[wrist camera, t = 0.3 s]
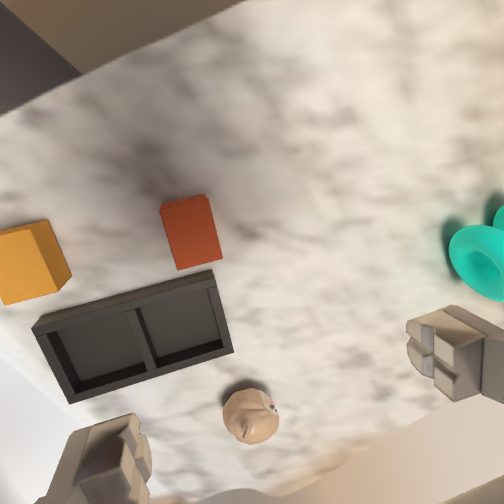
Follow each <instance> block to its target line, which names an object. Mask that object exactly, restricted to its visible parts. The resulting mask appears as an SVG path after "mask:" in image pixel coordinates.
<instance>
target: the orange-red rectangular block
mask: <svg viewBox="0 0 504 504" xmlns="http://www.w3.org/2000/svg"><path fill="white" fill-rule="evenodd" d="M160 214H161V218H162V221H163V224H164V228H165V231H166V234H167V237H168V241H169V244H170V247H171V251H172V254H173V257H174V260H175V264H176V267H177V270H182V269H186V268H189V267H193V266H197V265H200V264H204V263H208V262H212V261H215V260H219V259H222V258H223V256H222V252H221V248H220V244H219V240H218V236H217V232H216V228H215V224H214V220H213V216H212V212H211V208H210V204H209V200H208V198H207V197H206V196H205V194H203V195H198V196H194V197H190V198H186V199H181V200H177V201H173V202H168V203H164V204H162V205H161V207H160Z"/></svg>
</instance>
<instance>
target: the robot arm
mask: <svg viewBox="0 0 504 504" xmlns="http://www.w3.org/2000/svg"><path fill="white" fill-rule="evenodd" d="M406 333H407V334H408V335H409V336H410V337H411V338H410V340H409V341H408V343H407V353H408V356H409V358H410V361H411V363H412V364H413V366H414V367H415V368H416V370H418V371H419V372H420V373H421V374H422V375H424V376H427V377H430V378H433V380H434V385H435V387H437V388H438V389H439V390H440V391H441V392H442V393H443V394H445V395H446V396H447V397H448V398H449V399H450V400H451V401H453V402H457V401H460V400H462V399H465V398H468V397H471V396H474V395H476V394H479V393H481V394H482V395H484V396H486V397H488V398H491V399H493V400H496V401H498V402H500V403H503V404H504V330H503V329H501V328H499V327H497V326H495V325H494V324H492V323H490V322H488V321H486V320H484V319H482V318H480V317H478V316H476V315H474V314H472V313H471V312H469V311H467V310H465V309H463V308H461V307H459V306H456V305H450V306H447V307H444V308H441V309H439V310H437V311H434V312H431V313H428V314H425V315H422V316H420V317H417V318H414V319H411V320H408V322H407V324H406ZM139 429H140V422H139V420H138V418H137V415H136V414H135V413H130V414H127V415H123V416H120V417H117V418H114V419H110V420H107V421H104V422H101V423H98V424H94V425H93V426H89V427H86V428H83V429H80V430H76V431H74V432H73V433H72V434H71V435H70V436H69V438H68V441H67V443H66V446H65V449H64V451H63V453H62V456H61V459H60V461H59V464H58V466H57V469H56V471H55V474H54V476H53V479H52V482H51V484H50V487H49V489H48V492H47V494H46V496H44V497H41V498H39V499H38V500H37V501H36V502H35V503H34V504H149V495H150V493H149V490H148V488H147V486H146V483H147V481H148V479H149V478H150V476H151V469H152V461H151V451H150V447H149V443H148V440H147V438H146V436H145V435H143V434H141V433H139ZM440 504H504V475H503V476H501V477H498V478H496V479H494V480H492V481H489V482H487V483H485V484H483V485H480V486H478V487H476V488H474V489H471V490H469V491H467V492H465V493H463V494H460V495H458V496H456V497H453V498H451V499H449V500H447V501H445V502H442V503H440Z"/></svg>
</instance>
